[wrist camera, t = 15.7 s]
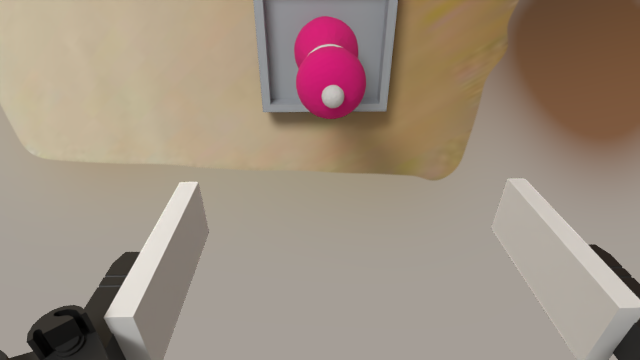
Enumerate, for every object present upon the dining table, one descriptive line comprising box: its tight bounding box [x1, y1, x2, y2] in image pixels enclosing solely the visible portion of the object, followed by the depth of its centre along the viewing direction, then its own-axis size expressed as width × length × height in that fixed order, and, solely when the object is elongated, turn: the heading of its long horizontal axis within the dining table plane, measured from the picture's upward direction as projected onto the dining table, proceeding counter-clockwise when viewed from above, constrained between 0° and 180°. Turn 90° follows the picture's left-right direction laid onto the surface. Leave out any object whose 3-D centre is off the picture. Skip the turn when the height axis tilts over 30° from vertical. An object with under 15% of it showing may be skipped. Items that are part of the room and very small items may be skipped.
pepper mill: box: [294, 16, 366, 119], centre depth 36 cm, size 7×7×20 cm
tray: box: [253, 0, 398, 112], centre depth 44 cm, size 16×16×3 cm
